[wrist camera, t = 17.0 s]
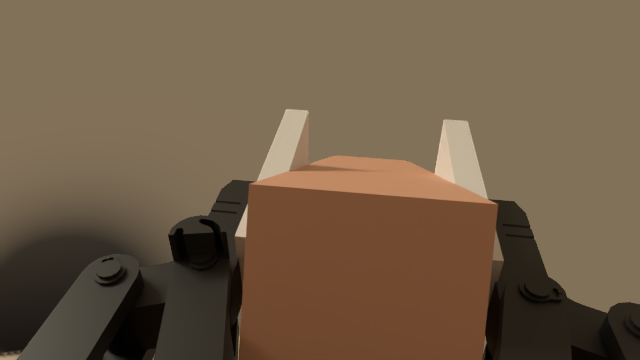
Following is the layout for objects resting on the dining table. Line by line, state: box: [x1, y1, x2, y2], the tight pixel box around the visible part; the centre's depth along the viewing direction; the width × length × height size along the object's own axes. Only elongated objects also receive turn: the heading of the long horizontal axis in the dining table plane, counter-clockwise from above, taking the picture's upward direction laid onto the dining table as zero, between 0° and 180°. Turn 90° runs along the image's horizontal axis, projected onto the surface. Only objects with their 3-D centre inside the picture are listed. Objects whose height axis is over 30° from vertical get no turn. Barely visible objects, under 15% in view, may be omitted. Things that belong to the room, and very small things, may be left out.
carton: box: [239, 156, 498, 360], centre depth 20 cm, size 22×4×4 cm, turn 174°
